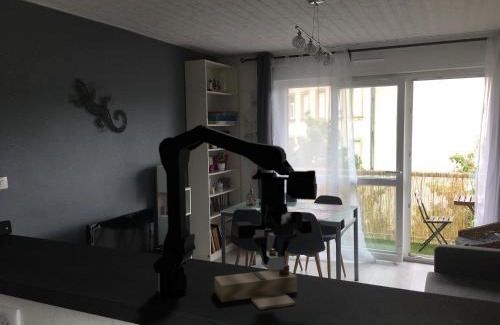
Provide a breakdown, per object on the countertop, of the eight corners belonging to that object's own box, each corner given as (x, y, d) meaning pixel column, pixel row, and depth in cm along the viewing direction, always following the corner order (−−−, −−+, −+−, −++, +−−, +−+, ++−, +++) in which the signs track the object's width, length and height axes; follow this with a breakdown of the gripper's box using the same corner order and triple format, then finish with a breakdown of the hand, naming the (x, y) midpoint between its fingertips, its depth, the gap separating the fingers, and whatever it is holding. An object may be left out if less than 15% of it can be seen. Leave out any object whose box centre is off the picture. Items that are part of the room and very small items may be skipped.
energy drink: (284, 278, 116) (284, 236, 116) (266, 277, 117) (266, 235, 117) (287, 272, 121) (287, 232, 121) (269, 271, 123) (269, 231, 122)
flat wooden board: (259, 309, 94) (259, 307, 94) (251, 300, 100) (251, 298, 100) (295, 304, 97) (295, 302, 97) (285, 295, 103) (285, 293, 103)
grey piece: (269, 270, 95) (270, 252, 95) (261, 264, 100) (261, 247, 100) (283, 269, 96) (283, 251, 96) (274, 262, 101) (274, 245, 101)
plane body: (221, 302, 99) (221, 277, 99) (214, 292, 106) (214, 269, 105) (296, 291, 106) (296, 268, 105) (285, 283, 112) (285, 261, 112)
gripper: (246, 205, 87) (246, 278, 87) (324, 201, 93) (323, 269, 94) (231, 198, 97) (231, 263, 98) (302, 195, 103) (302, 256, 104)
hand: (272, 263), depth 98 cm, fingers closed on grey piece, 3 cm apart
